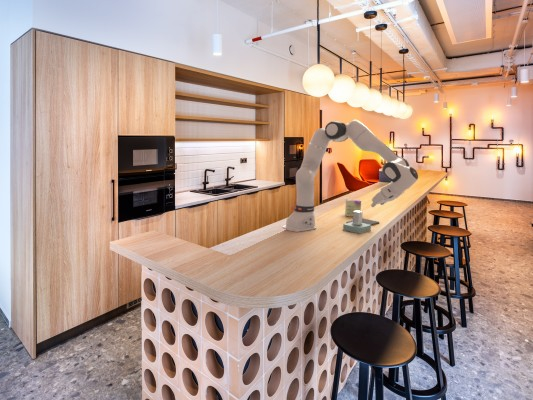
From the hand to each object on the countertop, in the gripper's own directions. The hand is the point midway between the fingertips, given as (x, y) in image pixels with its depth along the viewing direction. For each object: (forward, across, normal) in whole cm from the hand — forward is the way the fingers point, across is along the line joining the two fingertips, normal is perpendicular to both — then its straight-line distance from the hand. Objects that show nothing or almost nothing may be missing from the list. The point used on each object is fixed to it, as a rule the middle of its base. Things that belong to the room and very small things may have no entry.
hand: (376, 205), depth 194 cm
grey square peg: (+22, 0, +4) cm, 22 cm away
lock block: (+22, 0, +4) cm, 22 cm away
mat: (+26, -17, -1) cm, 31 cm away
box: (+39, -31, -14) cm, 52 cm away
